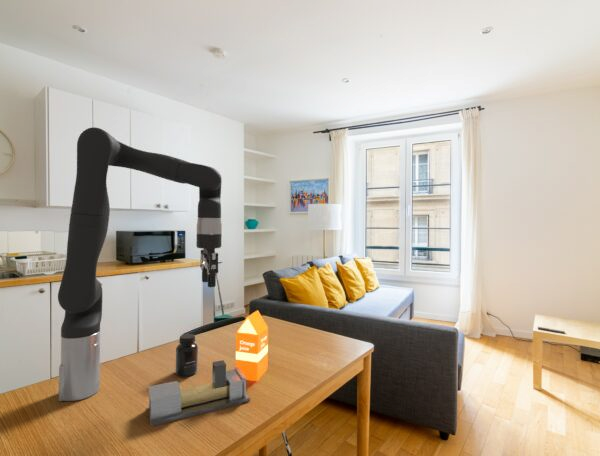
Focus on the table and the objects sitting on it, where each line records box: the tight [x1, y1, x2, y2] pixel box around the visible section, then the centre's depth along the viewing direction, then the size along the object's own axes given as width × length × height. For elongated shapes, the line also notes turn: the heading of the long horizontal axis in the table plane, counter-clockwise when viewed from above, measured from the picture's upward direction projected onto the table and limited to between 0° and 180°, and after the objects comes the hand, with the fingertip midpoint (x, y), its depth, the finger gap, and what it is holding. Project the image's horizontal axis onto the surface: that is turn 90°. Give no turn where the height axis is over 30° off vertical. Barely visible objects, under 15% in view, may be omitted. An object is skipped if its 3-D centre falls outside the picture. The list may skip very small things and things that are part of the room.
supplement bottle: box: [174, 333, 199, 378], centre depth 105 cm, size 7×7×12 cm
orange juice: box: [235, 310, 269, 382], centre depth 106 cm, size 8×9×20 cm
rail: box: [148, 366, 251, 427], centre depth 87 cm, size 25×9×6 cm, turn 118°
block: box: [180, 359, 229, 408], centre depth 88 cm, size 16×4×9 cm, turn 118°
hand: (208, 284), depth 100 cm, fingers open, 8 cm apart
